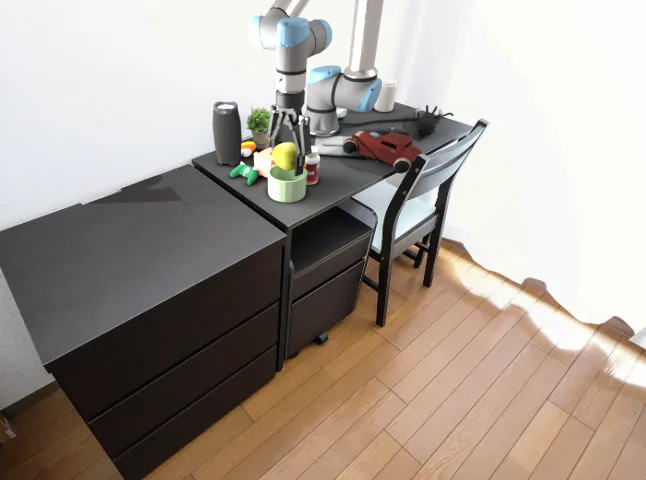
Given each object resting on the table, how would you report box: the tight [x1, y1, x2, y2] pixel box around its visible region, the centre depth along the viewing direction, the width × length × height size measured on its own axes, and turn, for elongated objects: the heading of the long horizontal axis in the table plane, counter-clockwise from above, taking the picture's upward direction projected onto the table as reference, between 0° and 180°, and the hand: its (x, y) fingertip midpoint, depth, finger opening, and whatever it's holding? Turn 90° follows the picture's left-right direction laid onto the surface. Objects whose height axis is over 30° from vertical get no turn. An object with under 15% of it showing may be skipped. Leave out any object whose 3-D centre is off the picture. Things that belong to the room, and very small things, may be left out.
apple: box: [272, 141, 298, 171], centre depth 110 cm, size 8×9×8 cm
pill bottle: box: [304, 145, 321, 186], centre depth 119 cm, size 6×6×11 cm
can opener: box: [360, 127, 410, 137], centre depth 142 cm, size 18×7×6 cm, turn 71°
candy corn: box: [241, 140, 257, 158], centre depth 137 cm, size 6×3×8 cm
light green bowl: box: [267, 165, 307, 203], centre depth 115 cm, size 12×12×7 cm
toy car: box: [342, 129, 423, 175], centre depth 129 cm, size 15×28×10 cm, turn 47°
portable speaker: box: [211, 101, 243, 167], centre depth 127 cm, size 9×9×20 cm
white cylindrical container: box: [373, 78, 399, 113], centre depth 164 cm, size 8×8×12 cm
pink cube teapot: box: [253, 147, 276, 179], centre depth 124 cm, size 8×12×8 cm, turn 51°
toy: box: [414, 104, 444, 137], centre depth 152 cm, size 11×6×30 cm
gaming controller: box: [229, 161, 259, 186], centre depth 124 cm, size 9×4×6 cm
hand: (287, 168), depth 112 cm, fingers closed on apple, 9 cm apart
